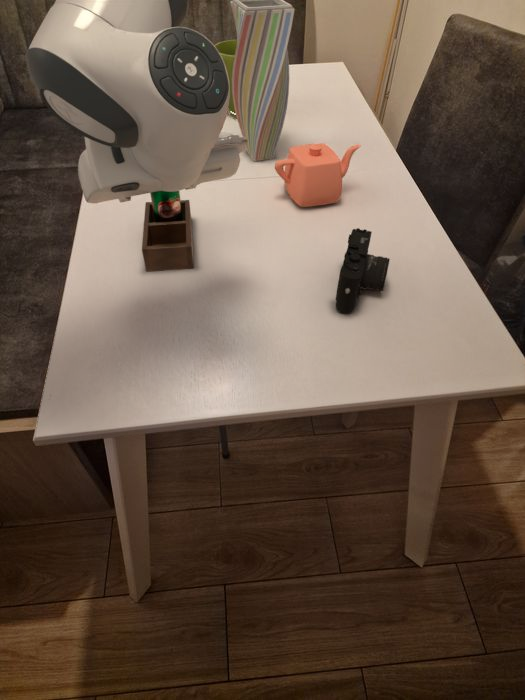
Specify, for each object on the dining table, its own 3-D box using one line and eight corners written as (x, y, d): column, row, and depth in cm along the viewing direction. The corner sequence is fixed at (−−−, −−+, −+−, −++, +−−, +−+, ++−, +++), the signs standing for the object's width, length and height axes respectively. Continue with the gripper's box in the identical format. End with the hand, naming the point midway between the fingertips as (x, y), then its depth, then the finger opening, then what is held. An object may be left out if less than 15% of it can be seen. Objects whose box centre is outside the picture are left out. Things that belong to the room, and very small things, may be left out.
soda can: (162, 240, 88) (151, 178, 79) (153, 227, 91) (142, 165, 82) (188, 233, 90) (180, 171, 81) (178, 220, 93) (170, 159, 84)
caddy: (146, 271, 83) (141, 249, 80) (149, 223, 93) (145, 202, 90) (193, 268, 84) (191, 246, 80) (191, 220, 94) (189, 199, 91)
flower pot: (205, 117, 130) (200, 49, 119) (236, 100, 139) (234, 35, 128) (252, 129, 125) (251, 59, 114) (281, 110, 134) (283, 44, 122)
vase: (298, 163, 112) (308, 7, 90) (242, 172, 108) (239, 12, 87) (276, 140, 120) (281, -8, 99) (224, 147, 117) (217, -4, 96)
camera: (376, 323, 74) (386, 281, 68) (330, 314, 76) (336, 273, 70) (385, 269, 84) (395, 228, 78) (344, 262, 85) (351, 222, 79)
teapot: (265, 187, 104) (266, 138, 96) (343, 177, 107) (350, 129, 100) (282, 214, 96) (284, 163, 88) (365, 202, 100) (374, 152, 92)
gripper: (244, 109, 58) (219, 156, 71) (69, 135, 52) (77, 180, 65) (258, 160, 59) (231, 197, 72) (86, 192, 52) (91, 226, 66)
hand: (156, 189), depth 68 cm, fingers open, 8 cm apart
